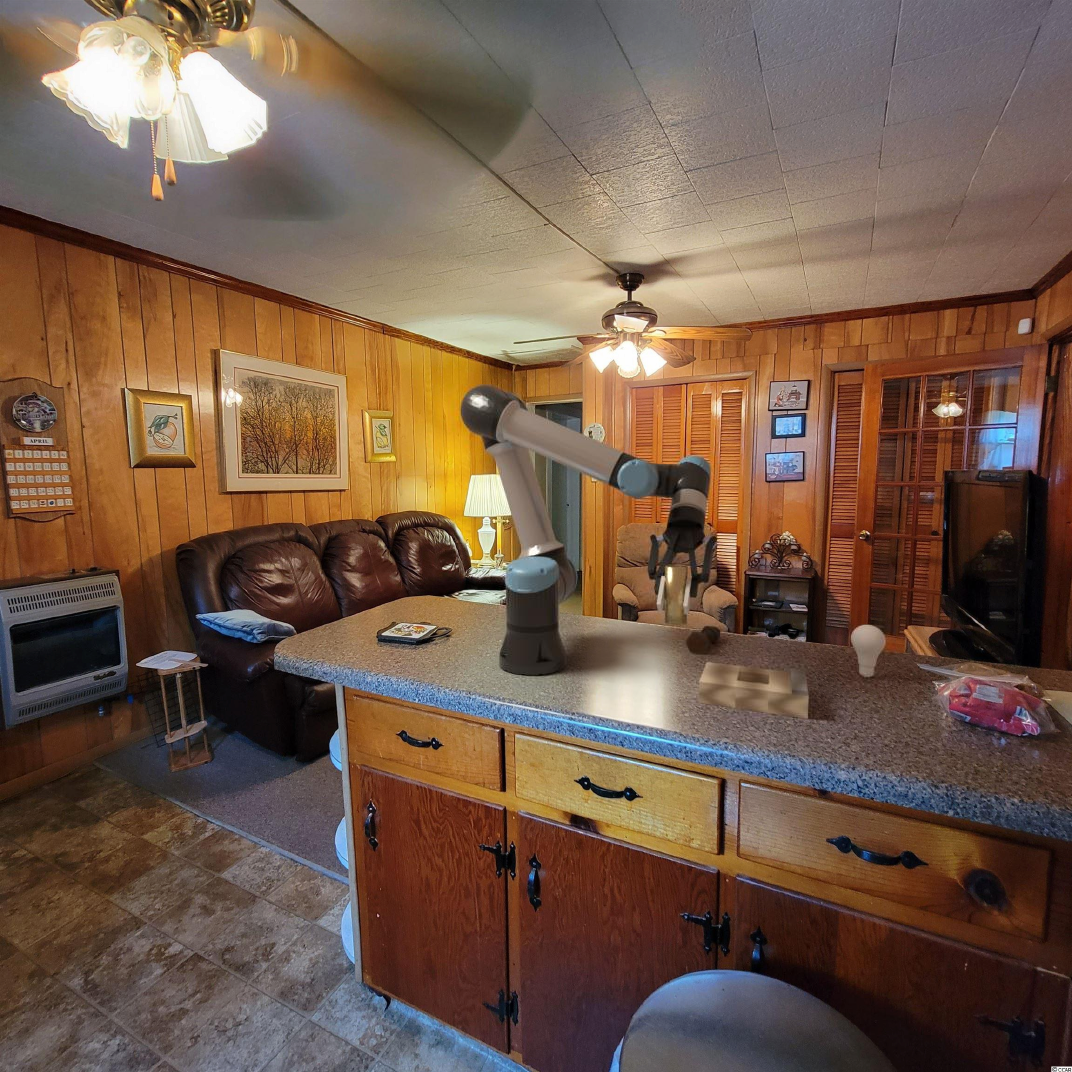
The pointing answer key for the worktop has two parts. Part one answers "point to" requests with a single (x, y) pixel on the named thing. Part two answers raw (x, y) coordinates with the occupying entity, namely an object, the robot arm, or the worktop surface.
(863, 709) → the worktop surface
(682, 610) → the brass cylinder
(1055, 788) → the worktop surface
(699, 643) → the bolt
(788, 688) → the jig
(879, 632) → the lightbulb
